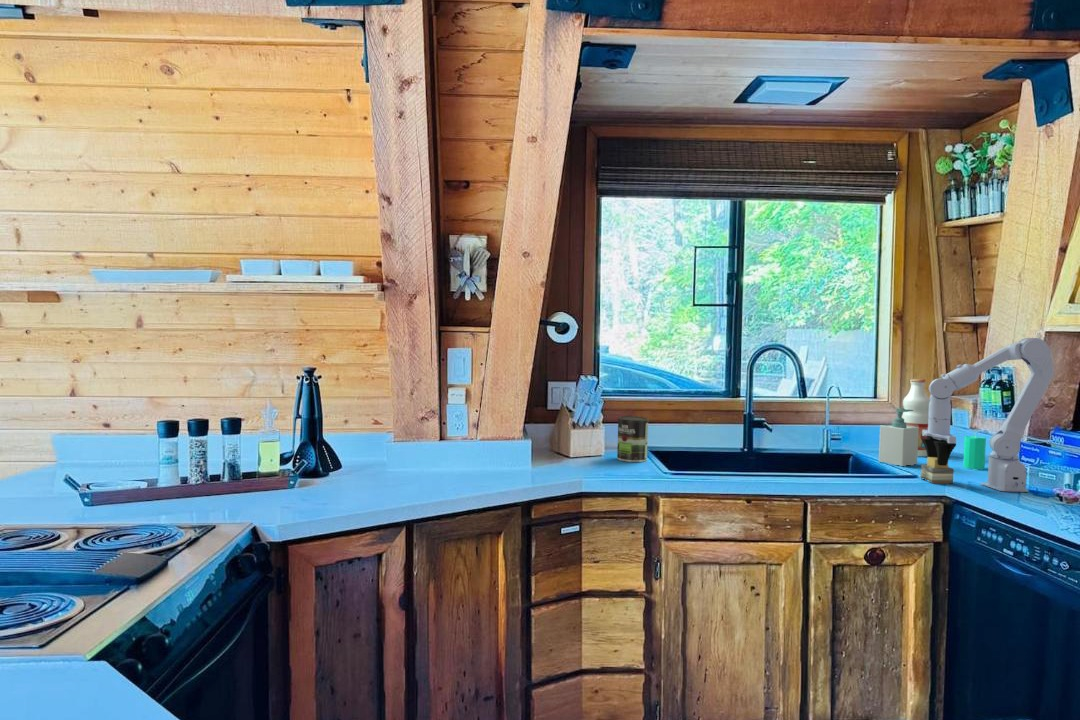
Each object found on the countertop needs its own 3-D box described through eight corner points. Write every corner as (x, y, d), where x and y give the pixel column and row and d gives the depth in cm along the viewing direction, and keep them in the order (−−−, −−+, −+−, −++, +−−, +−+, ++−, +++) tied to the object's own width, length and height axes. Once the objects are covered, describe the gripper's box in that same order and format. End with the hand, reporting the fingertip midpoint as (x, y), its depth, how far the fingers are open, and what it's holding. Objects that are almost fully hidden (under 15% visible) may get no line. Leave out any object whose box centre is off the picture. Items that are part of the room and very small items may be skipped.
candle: (988, 470, 226) (990, 434, 225) (970, 469, 226) (971, 433, 225) (977, 466, 232) (978, 431, 231) (959, 466, 232) (960, 430, 231)
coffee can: (636, 463, 225) (637, 421, 225) (610, 459, 232) (611, 418, 231) (653, 459, 233) (654, 418, 232) (627, 455, 240) (628, 415, 239)
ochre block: (947, 473, 204) (948, 459, 204) (934, 472, 204) (934, 459, 204) (939, 470, 208) (940, 457, 208) (926, 470, 208) (927, 456, 208)
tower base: (953, 483, 203) (953, 468, 203) (931, 483, 203) (932, 468, 203) (941, 479, 209) (941, 464, 209) (920, 478, 209) (921, 464, 209)
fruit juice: (901, 451, 259) (904, 377, 258) (929, 454, 254) (932, 379, 253) (899, 455, 251) (902, 379, 250) (929, 458, 246) (932, 380, 245)
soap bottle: (902, 467, 228) (905, 410, 227) (878, 462, 236) (880, 407, 235) (917, 464, 233) (920, 409, 232) (893, 460, 240) (895, 406, 239)
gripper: (913, 415, 213) (911, 458, 213) (939, 421, 198) (937, 468, 199) (936, 415, 212) (934, 459, 213) (964, 422, 198) (962, 468, 199)
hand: (937, 463), depth 206 cm, fingers open, 5 cm apart
